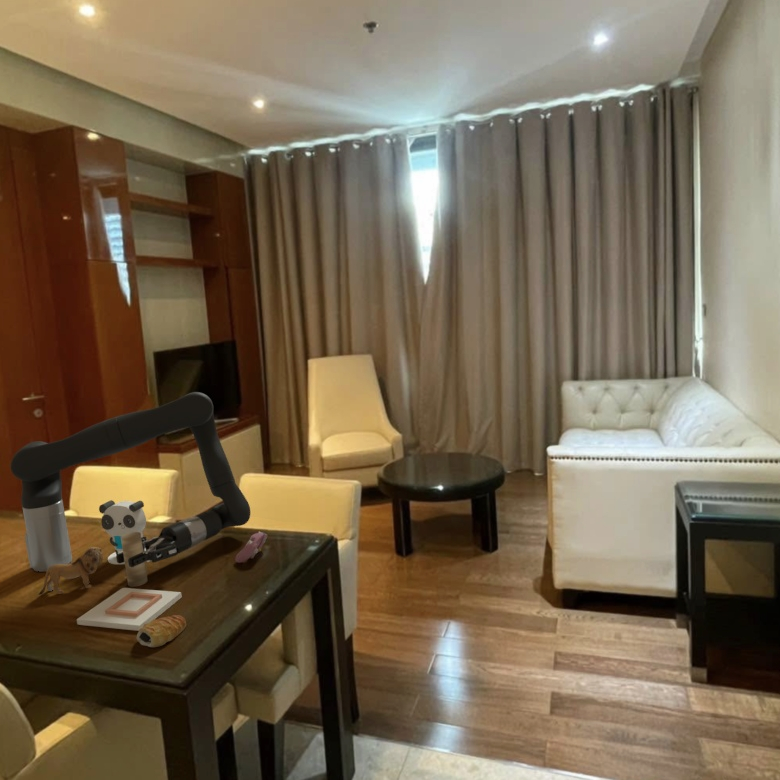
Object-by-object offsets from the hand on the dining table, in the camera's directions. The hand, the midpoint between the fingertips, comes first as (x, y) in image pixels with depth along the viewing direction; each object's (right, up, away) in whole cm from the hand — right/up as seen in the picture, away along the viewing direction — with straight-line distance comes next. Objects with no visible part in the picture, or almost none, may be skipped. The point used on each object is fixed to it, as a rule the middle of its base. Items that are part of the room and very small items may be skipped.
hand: (123, 561), depth 142 cm
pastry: (+17, -9, -22) cm, 29 cm away
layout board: (+6, -8, -10) cm, 15 cm away
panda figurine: (-7, -4, +21) cm, 22 cm away
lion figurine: (-13, -7, +3) cm, 15 cm away
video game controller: (+28, -3, +14) cm, 31 cm away
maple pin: (+2, -6, +3) cm, 7 cm away
